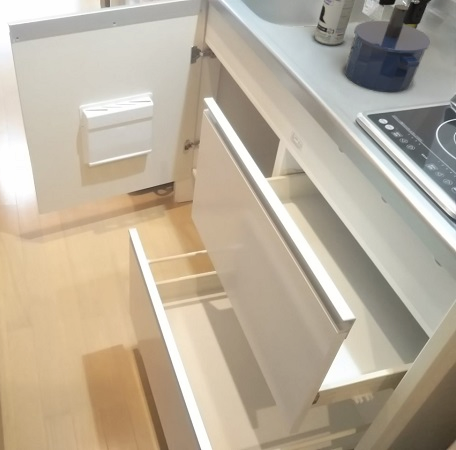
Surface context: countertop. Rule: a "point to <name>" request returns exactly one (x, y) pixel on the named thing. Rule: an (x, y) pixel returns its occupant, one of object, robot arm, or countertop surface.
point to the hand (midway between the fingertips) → (398, 13)
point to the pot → (381, 67)
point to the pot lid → (393, 34)
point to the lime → (412, 25)
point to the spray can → (333, 21)
